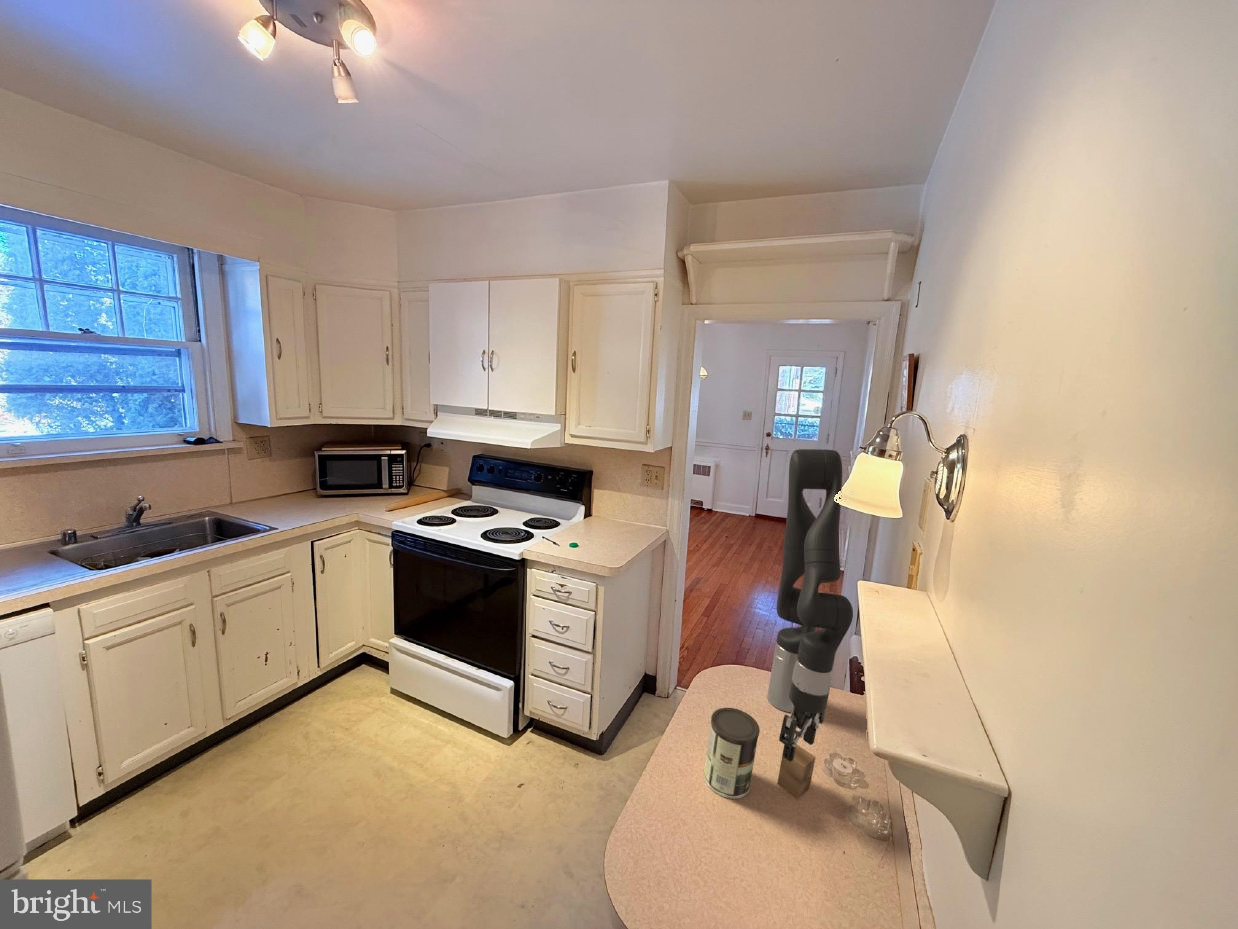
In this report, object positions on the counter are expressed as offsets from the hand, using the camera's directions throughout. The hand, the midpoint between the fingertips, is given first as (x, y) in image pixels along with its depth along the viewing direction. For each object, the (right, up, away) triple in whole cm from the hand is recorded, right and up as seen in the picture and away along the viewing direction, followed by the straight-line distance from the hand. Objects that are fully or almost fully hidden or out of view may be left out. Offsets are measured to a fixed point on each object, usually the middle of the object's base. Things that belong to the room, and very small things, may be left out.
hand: (798, 750), depth 106 cm
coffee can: (-15, -8, +2) cm, 17 cm away
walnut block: (0, -9, +2) cm, 9 cm away
